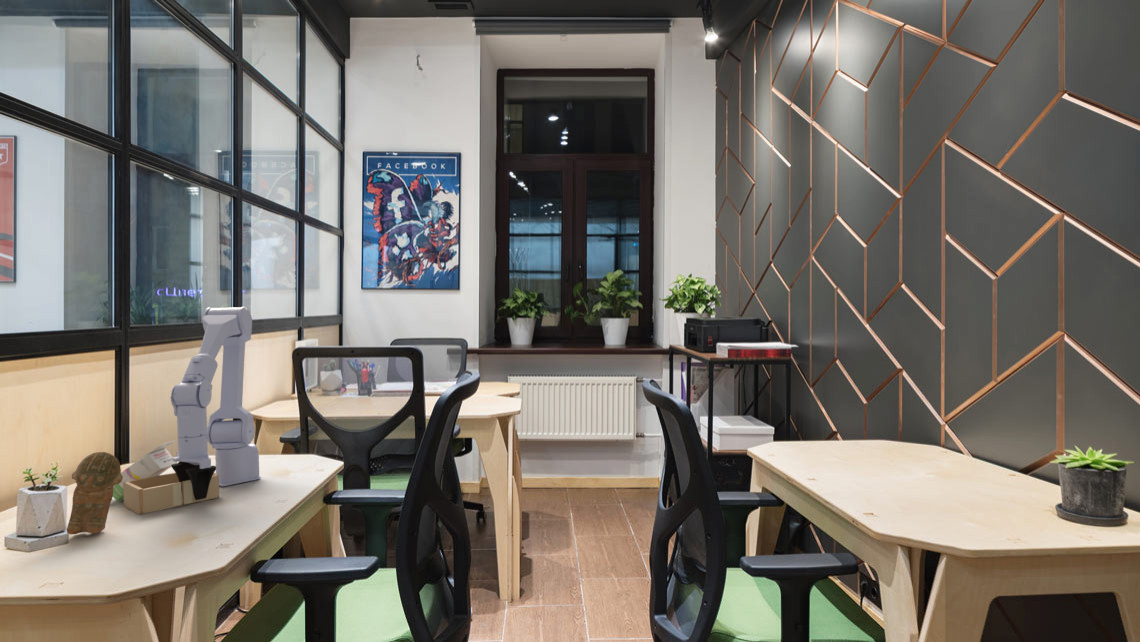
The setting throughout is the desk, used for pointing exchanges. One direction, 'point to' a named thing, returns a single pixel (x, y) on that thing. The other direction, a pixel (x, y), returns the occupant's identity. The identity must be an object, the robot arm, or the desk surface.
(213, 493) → the flap
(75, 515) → the figurine
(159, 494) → the flap
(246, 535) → the desk surface
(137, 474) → the ink box
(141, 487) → the carton
